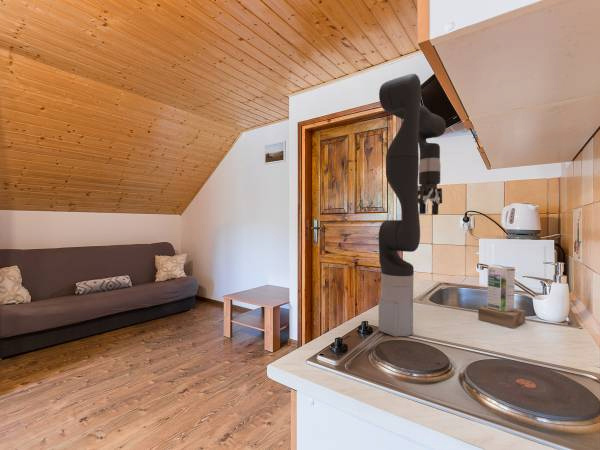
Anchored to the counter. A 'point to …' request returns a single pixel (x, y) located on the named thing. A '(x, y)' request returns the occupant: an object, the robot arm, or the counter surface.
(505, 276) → the syrup box
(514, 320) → the walnut base
